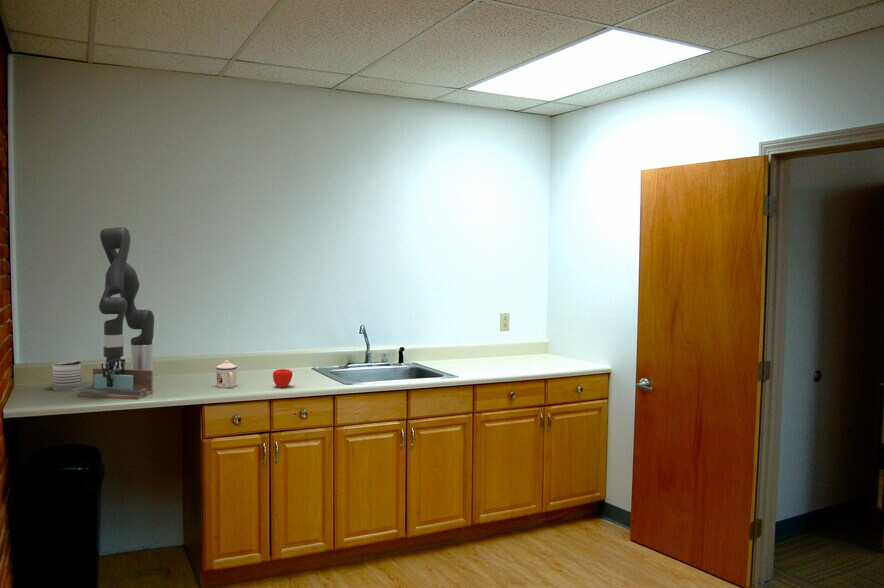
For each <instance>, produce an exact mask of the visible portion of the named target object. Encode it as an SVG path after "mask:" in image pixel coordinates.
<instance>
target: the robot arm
mask: <svg viewBox="0 0 884 588" xmlns="http://www.w3.org/2000/svg"><path fill="white" fill-rule="evenodd" d="M99 238H100V242H101V246H102V248H103V251H104V253H105V255H106V257H107V260H108V263H109V267H108V269H106V270H107V271H106V273H105V283H104V290H103V293H102V296H101V299H100V301H99V302H98V303H99V304H98V310H99V312H100V313H101V314H103V315H117V316H116V317H115V318H113V319H108V320H105V321H104V323H103V357H104V358H106V360H105V362H102V363H101V364H100V365H101V368H102V373H103V377H106V378H107V387H113V378H112V377H113V373H114V374H115V375H122V373H124V369H125V366H126V359H125V358H121V357H123V356H124V335H123V334H124V328H123V327H124V319H125V321H126V324H127V326H128V328H129V329H131V330H140V331H141V332H140V334H139V335H137V336H135V337H132V338H131V339H130V369H131V370H153V371H154V361H153V339H154V329H155V315H154V312H153V311H152V310H150V309H137V307H136V303H135V298H136V296H137V294H138V292H139V289H140V281H139V278H138V274H137V272H136V270H135V269H134V267H133V266H132V265H130V264H129V262H128V256H129V251H130V245H131V234H130V231H129V230H128V228H127V227H124V226H121V227H118V226H116V227H108V228H103V229H101V231H100V233H99ZM117 250H118V251H117ZM115 295H119V296H117V297H116V296H115ZM113 296H114V297H113ZM121 369H122V370H121ZM105 372H106V374H105ZM110 373H111V374H110Z"/></svg>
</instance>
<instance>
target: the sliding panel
mask: <svg viewBox="0 0 884 588" xmlns="http://www.w3.org/2000/svg"><path fill="white" fill-rule="evenodd" d="M112 378H113V387H107V378H106V377H103V374H95V375H94V389H112V390H133V375H113V377H112Z"/></svg>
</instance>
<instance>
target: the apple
mask: <svg viewBox="0 0 884 588" xmlns="http://www.w3.org/2000/svg"><path fill="white" fill-rule="evenodd" d="M292 377H293V371H292V370H290V369H286V368H280V369H275V370H273V372H272V380H273V382H274V384H275V387H277V388H279V387H280V388H281V389H282V388H286V387H288V385H290V383H291V381H292V379H293V378H292ZM280 388H279V389H280Z"/></svg>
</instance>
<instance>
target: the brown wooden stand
mask: <svg viewBox="0 0 884 588" xmlns="http://www.w3.org/2000/svg"><path fill="white" fill-rule="evenodd" d="M121 370H122V369H121ZM95 374H103V373H102V367H93V368H92V385H91V386H90V385H88V386H84V387H81V388H79V390H80V391H79V392H80V393H79V392H78V393H77V397H78V396H83V397H82V398H96V397H101V398H102V399H118V398H119V399H120V400H121V399H122V400H123V399H124V400H139V399H142V398H145V397H147V396H149V395H150V396H151V395H153V393H154V391H153V390H154V389H153V386H154V385H153V380H154V369H153V370H131V368H130V369H129V368H128V369H127V368H124V373H122V375H133V390H112V389H94V375H95ZM105 374H106V372H105ZM110 374H111V373H110ZM113 375H115V374H114V373H113Z"/></svg>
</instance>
